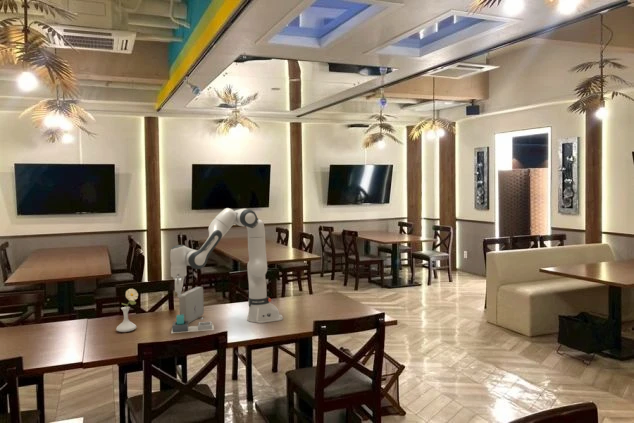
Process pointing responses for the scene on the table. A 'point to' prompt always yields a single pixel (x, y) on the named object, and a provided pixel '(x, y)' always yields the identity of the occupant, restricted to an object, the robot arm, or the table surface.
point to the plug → (180, 319)
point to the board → (193, 329)
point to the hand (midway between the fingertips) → (179, 296)
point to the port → (180, 327)
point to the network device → (192, 304)
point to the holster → (204, 325)
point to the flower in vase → (127, 324)
